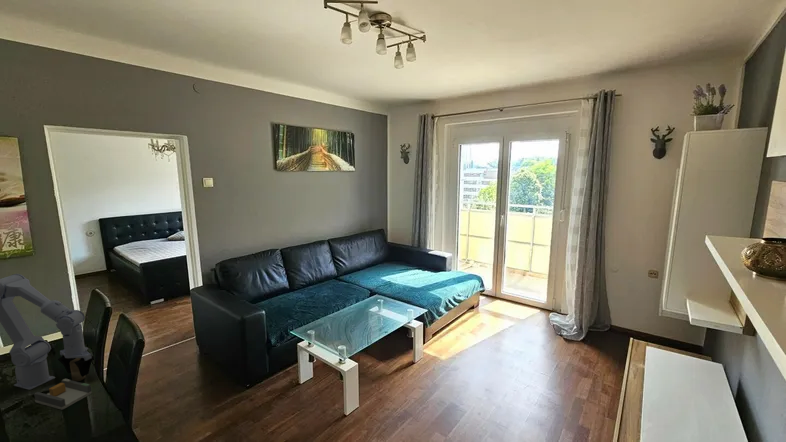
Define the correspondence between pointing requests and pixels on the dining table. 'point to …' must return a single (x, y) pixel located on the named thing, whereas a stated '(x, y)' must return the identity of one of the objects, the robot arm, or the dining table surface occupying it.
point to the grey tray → (65, 395)
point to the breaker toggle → (57, 389)
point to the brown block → (75, 371)
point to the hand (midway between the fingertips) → (78, 373)
